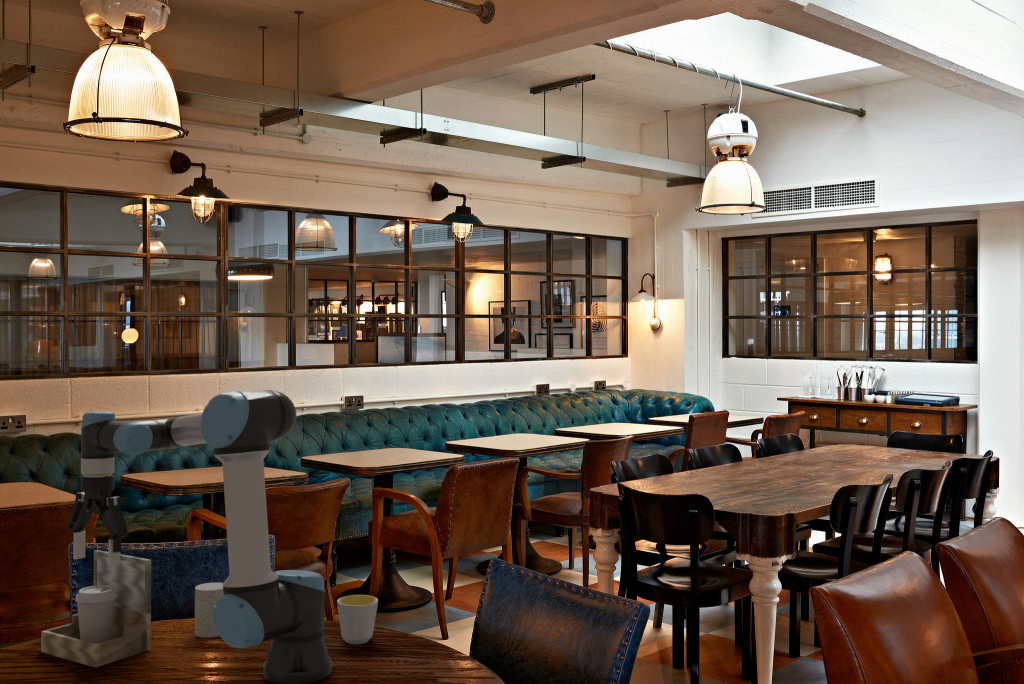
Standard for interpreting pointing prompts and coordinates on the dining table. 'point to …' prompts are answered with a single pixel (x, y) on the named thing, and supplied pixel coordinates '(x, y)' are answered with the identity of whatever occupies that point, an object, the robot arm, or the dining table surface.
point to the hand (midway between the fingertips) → (96, 562)
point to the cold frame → (128, 616)
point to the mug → (357, 617)
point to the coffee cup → (96, 612)
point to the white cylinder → (206, 608)
